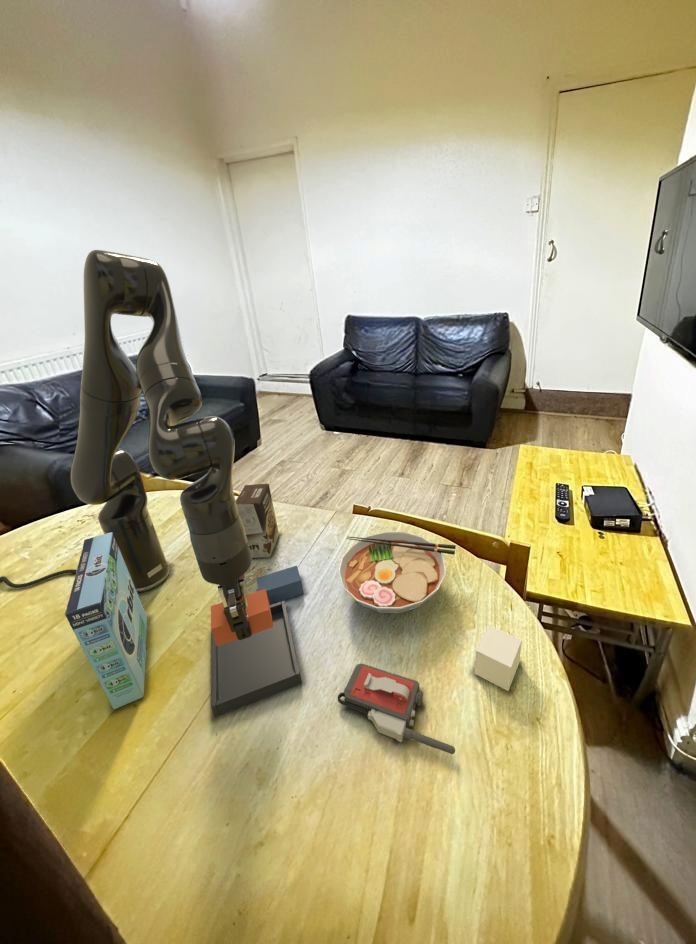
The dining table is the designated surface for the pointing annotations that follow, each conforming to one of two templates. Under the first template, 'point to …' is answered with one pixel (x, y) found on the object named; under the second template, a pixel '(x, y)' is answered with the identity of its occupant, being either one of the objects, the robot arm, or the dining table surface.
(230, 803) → the dining table surface
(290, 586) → the blue rectangular block
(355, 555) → the ramen bowl
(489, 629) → the beige cube
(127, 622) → the gum box
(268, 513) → the coffee box
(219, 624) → the pad
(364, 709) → the walkie-talkie
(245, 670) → the holder
